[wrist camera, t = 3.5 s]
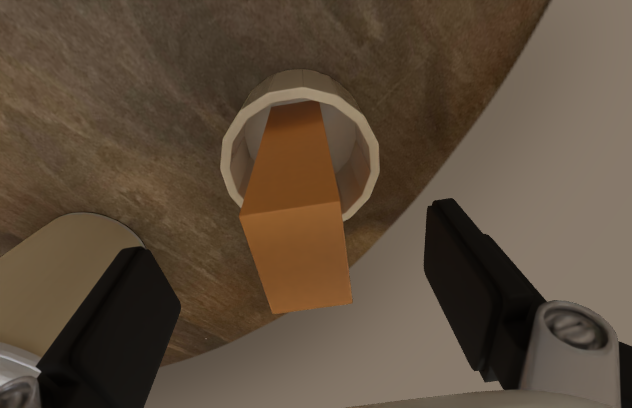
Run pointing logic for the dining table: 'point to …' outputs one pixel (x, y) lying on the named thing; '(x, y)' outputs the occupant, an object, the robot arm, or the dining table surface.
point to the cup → (340, 126)
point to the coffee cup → (52, 284)
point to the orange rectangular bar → (296, 213)
